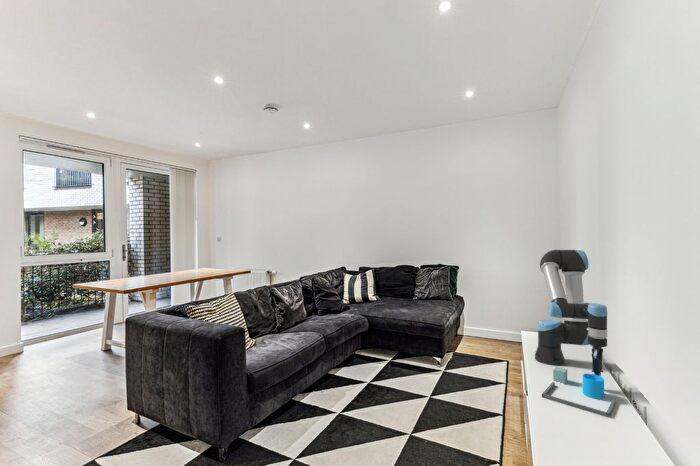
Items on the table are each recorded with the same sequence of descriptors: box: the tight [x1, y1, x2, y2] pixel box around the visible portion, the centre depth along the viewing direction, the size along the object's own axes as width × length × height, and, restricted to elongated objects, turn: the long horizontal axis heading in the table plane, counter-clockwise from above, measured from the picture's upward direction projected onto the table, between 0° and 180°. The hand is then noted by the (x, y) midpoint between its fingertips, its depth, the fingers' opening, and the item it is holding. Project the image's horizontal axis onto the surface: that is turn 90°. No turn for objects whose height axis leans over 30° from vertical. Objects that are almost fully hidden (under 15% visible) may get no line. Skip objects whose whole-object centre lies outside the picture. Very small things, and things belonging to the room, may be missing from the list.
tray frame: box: [541, 381, 617, 418], centre depth 157 cm, size 17×25×2 cm
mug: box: [582, 373, 605, 400], centre depth 163 cm, size 12×8×8 cm
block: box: [552, 366, 568, 385], centre depth 176 cm, size 5×5×6 cm
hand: (597, 385), depth 168 cm, fingers closed
